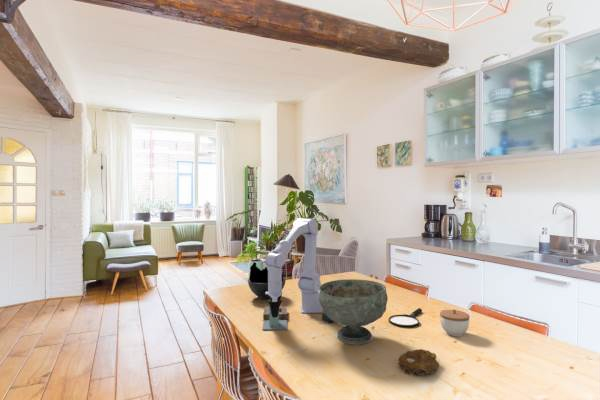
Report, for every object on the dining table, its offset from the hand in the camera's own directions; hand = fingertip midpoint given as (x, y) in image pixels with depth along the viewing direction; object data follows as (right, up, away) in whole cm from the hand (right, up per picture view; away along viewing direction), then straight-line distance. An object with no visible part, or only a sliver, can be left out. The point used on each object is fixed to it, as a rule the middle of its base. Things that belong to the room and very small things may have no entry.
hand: (275, 313), depth 149 cm
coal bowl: (-7, -5, +40) cm, 41 cm away
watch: (+24, -5, +6) cm, 25 cm away
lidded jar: (+72, -5, -9) cm, 72 cm away
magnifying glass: (+59, -5, +8) cm, 60 cm away
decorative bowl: (+31, -5, -13) cm, 34 cm away
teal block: (0, -4, 0) cm, 4 cm away
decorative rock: (+49, -6, -35) cm, 60 cm away
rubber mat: (0, -5, 0) cm, 5 cm away
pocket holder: (-1, -5, +12) cm, 13 cm away
